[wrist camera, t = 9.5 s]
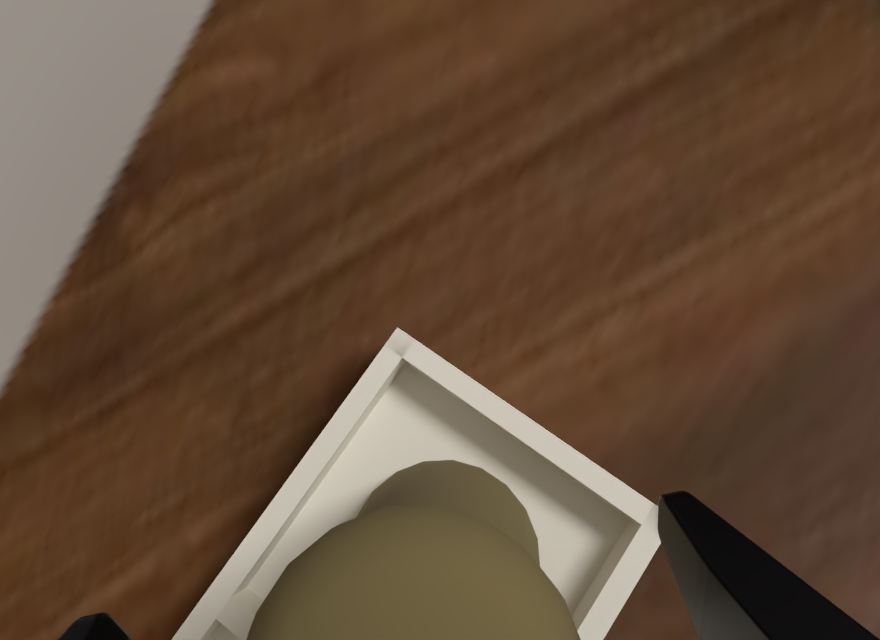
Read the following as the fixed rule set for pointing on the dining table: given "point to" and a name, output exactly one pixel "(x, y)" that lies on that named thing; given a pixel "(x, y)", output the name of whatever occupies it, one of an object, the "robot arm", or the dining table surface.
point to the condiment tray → (433, 439)
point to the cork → (422, 568)
